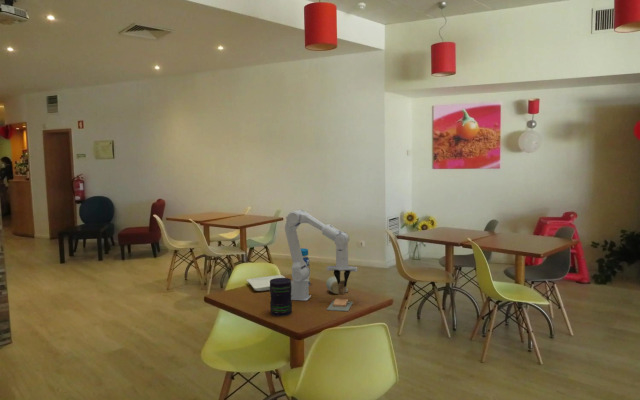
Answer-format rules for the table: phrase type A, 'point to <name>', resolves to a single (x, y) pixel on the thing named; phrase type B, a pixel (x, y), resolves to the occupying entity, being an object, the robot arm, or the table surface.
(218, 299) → the table surface
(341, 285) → the bar
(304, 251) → the beverage bottle
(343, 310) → the mat
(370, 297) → the table surface
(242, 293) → the table surface
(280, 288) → the storage jar
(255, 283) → the salad plate
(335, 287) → the ceramic mug
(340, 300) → the tile
